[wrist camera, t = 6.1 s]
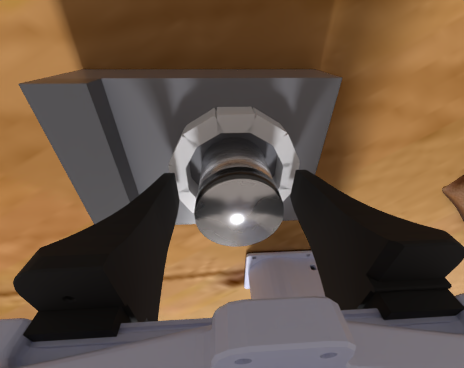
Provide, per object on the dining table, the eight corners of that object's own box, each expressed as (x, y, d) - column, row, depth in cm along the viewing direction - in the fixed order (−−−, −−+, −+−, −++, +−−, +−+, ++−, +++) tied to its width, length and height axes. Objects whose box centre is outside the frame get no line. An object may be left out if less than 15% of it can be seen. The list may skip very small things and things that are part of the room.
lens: (270, 137, 13) (294, 181, 9) (261, 192, 16) (275, 246, 12) (200, 135, 13) (191, 179, 9) (202, 192, 15) (195, 247, 11)
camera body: (314, 69, 15) (357, 82, 10) (289, 191, 21) (308, 233, 16) (82, 69, 14) (18, 83, 9) (129, 196, 20) (103, 241, 16)
